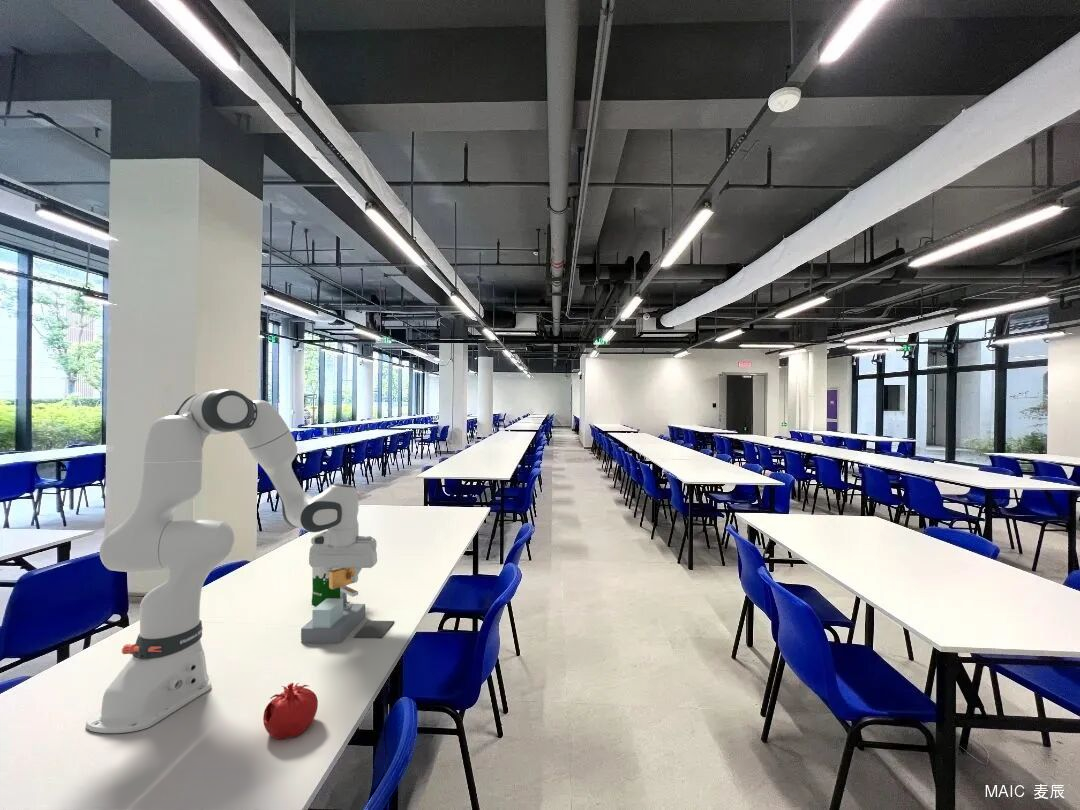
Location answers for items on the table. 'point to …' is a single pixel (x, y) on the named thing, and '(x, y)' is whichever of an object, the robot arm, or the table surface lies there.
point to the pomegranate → (290, 712)
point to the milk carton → (322, 586)
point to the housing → (334, 626)
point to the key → (342, 582)
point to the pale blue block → (327, 613)
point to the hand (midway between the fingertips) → (343, 581)
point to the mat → (374, 629)
